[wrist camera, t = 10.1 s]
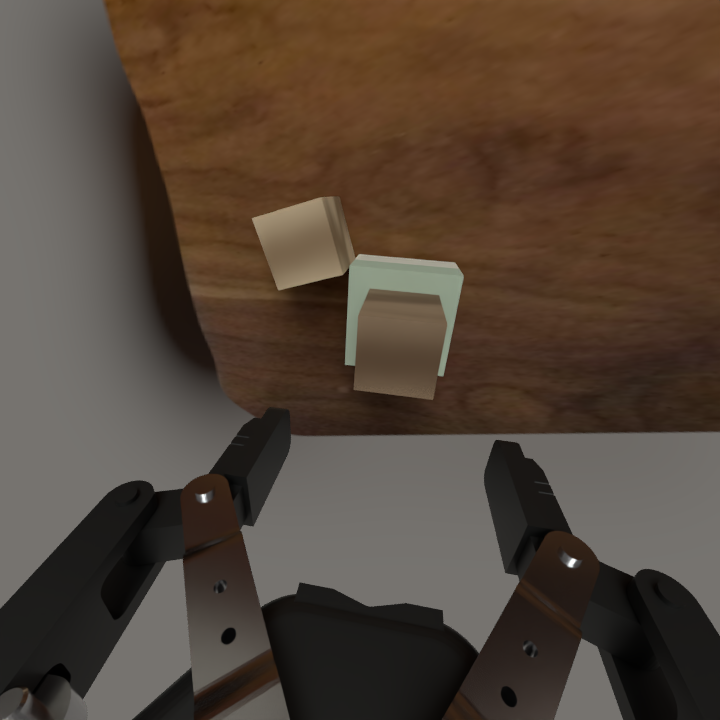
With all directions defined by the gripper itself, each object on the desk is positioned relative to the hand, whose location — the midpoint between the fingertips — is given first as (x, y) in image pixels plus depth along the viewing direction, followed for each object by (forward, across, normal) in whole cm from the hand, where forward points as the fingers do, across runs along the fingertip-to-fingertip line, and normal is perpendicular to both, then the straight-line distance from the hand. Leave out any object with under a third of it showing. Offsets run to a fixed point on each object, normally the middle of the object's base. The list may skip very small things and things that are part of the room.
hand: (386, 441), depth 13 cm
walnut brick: (+14, 0, 0) cm, 14 cm away
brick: (+19, +8, -5) cm, 21 cm away
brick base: (+18, 0, 0) cm, 19 cm away
